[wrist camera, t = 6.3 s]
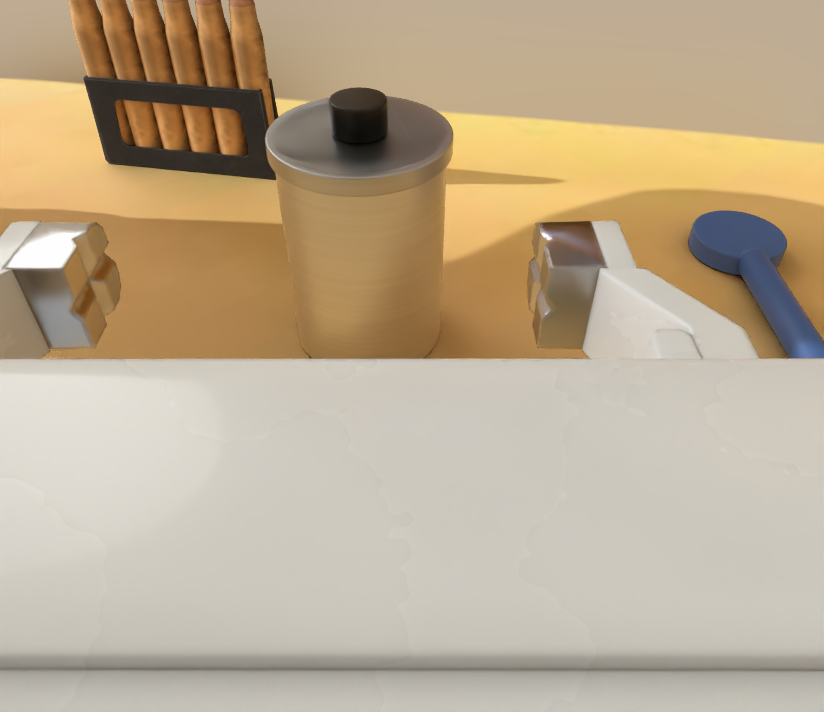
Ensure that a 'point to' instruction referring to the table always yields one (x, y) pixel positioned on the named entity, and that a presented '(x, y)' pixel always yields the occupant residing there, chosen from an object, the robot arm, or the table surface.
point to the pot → (363, 222)
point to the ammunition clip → (178, 84)
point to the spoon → (757, 273)
